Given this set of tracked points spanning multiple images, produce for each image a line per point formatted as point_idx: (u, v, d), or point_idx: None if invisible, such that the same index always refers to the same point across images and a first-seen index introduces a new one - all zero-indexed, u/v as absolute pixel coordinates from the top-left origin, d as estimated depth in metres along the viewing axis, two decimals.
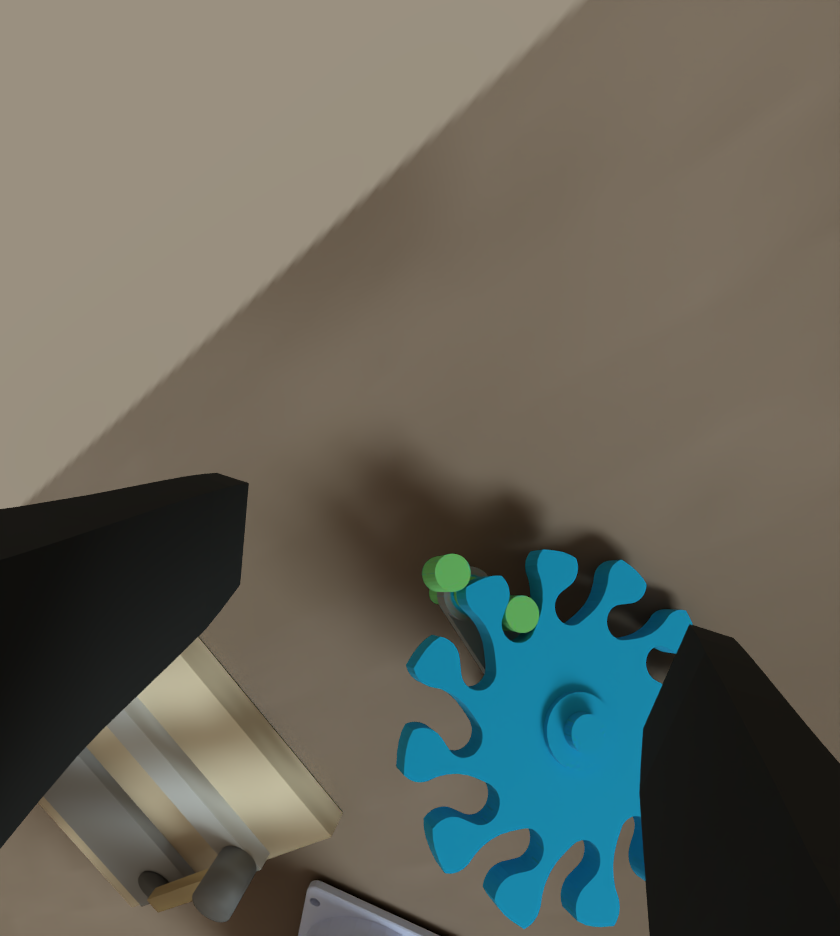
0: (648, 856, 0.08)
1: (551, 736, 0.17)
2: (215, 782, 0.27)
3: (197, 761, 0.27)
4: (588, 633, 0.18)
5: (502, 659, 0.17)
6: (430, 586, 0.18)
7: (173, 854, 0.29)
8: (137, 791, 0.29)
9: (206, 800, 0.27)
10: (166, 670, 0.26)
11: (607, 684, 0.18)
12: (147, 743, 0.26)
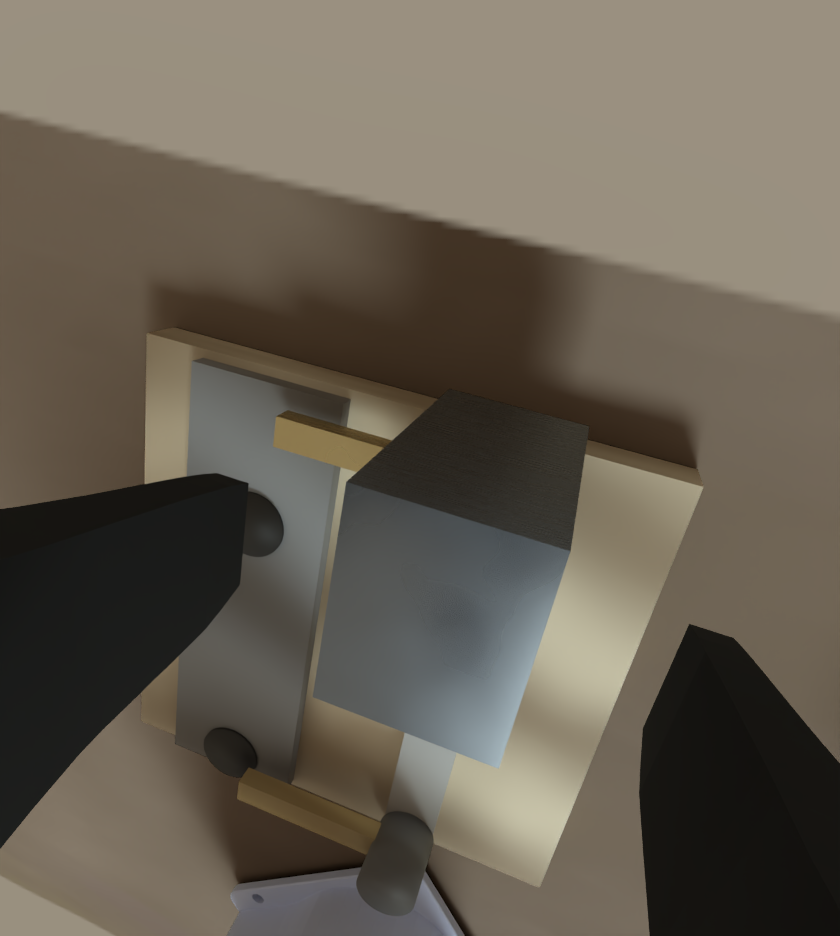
0: (648, 856, 0.08)
1: None
2: None
3: None
4: None
5: None
6: None
7: (296, 745, 0.21)
8: None
9: (451, 768, 0.19)
10: (590, 635, 0.16)
11: None
12: None
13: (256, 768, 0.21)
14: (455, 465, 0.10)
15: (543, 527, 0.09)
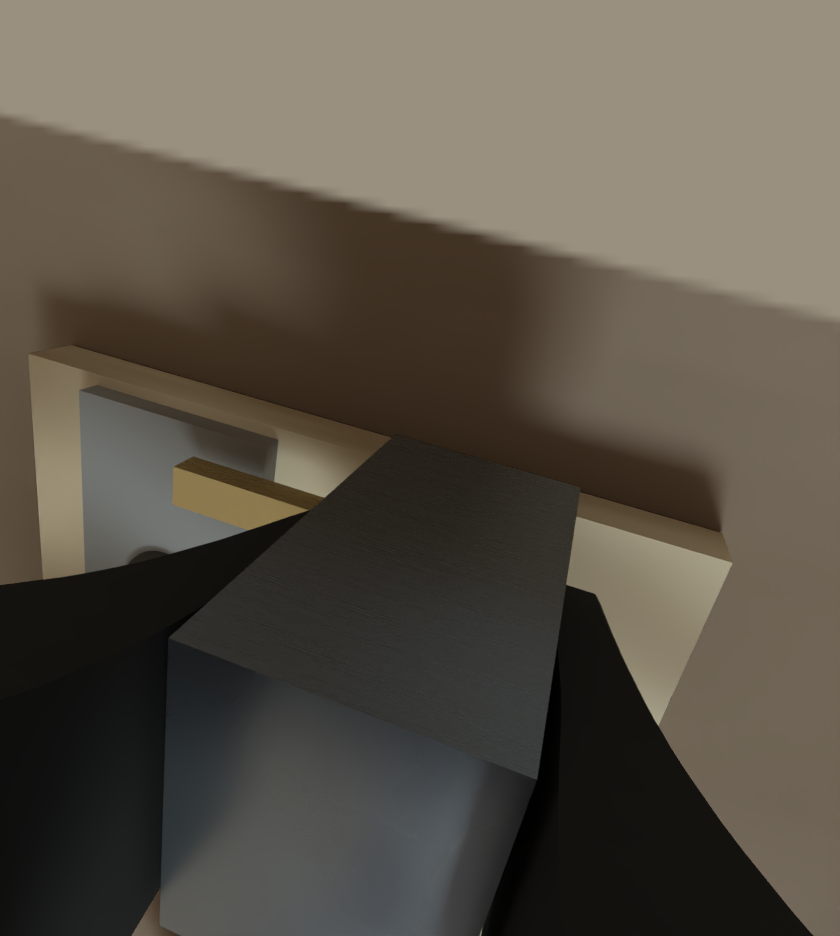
0: None
1: None
2: None
3: None
4: None
5: None
6: None
7: None
8: None
9: None
10: None
11: None
12: None
13: None
14: (370, 580, 0.07)
15: (494, 717, 0.05)
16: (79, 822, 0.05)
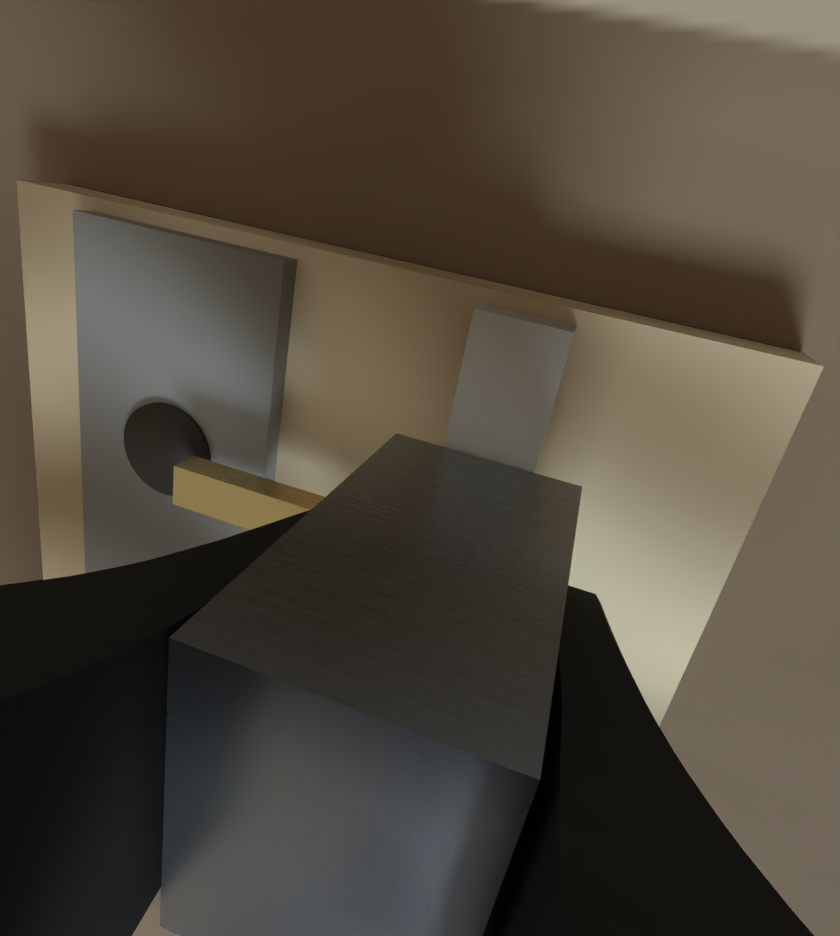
0: None
1: None
2: None
3: None
4: None
5: None
6: None
7: None
8: None
9: None
10: (640, 599, 0.12)
11: None
12: None
13: None
14: (372, 581, 0.07)
15: (497, 717, 0.05)
16: (79, 823, 0.05)
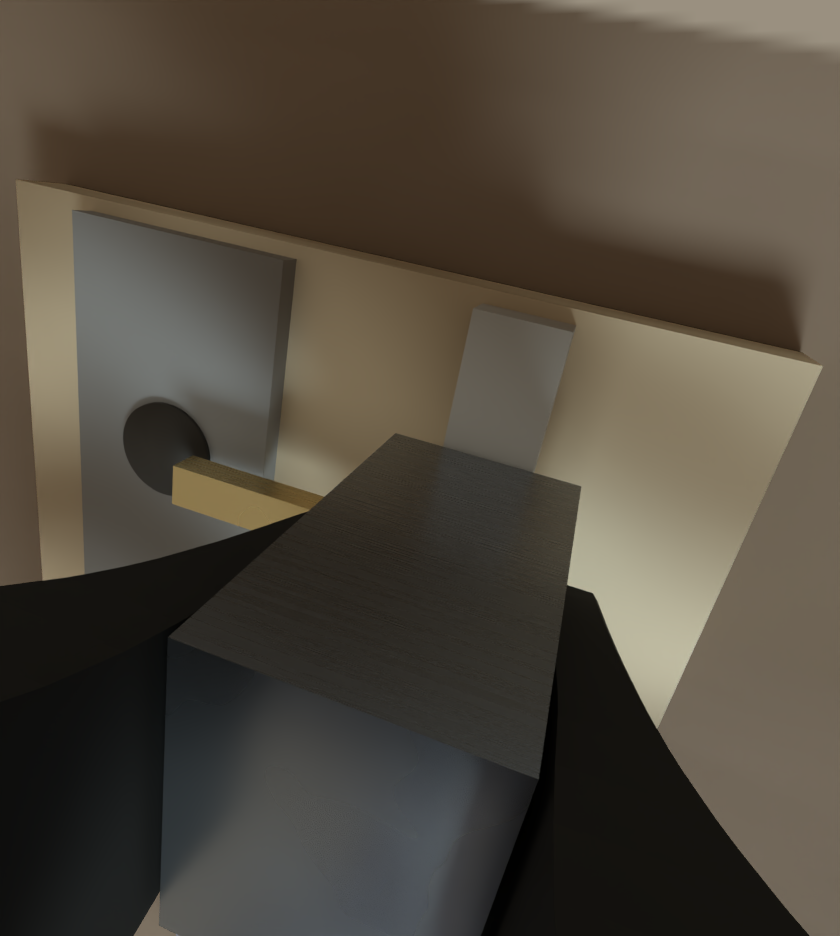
0: None
1: None
2: None
3: None
4: None
5: None
6: None
7: None
8: None
9: None
10: (639, 599, 0.12)
11: None
12: None
13: None
14: (370, 580, 0.07)
15: (496, 717, 0.05)
16: (81, 823, 0.05)
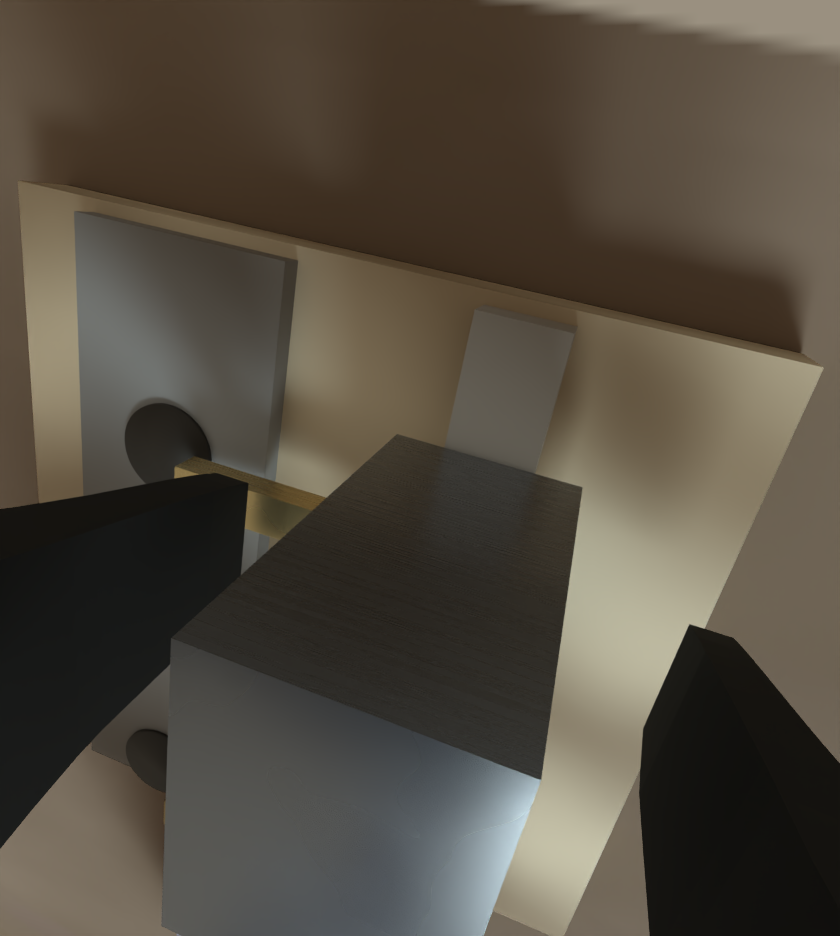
0: (648, 856, 0.08)
1: None
2: None
3: None
4: None
5: None
6: None
7: None
8: None
9: None
10: (640, 600, 0.12)
11: None
12: None
13: None
14: (373, 580, 0.07)
15: (498, 717, 0.05)
16: None
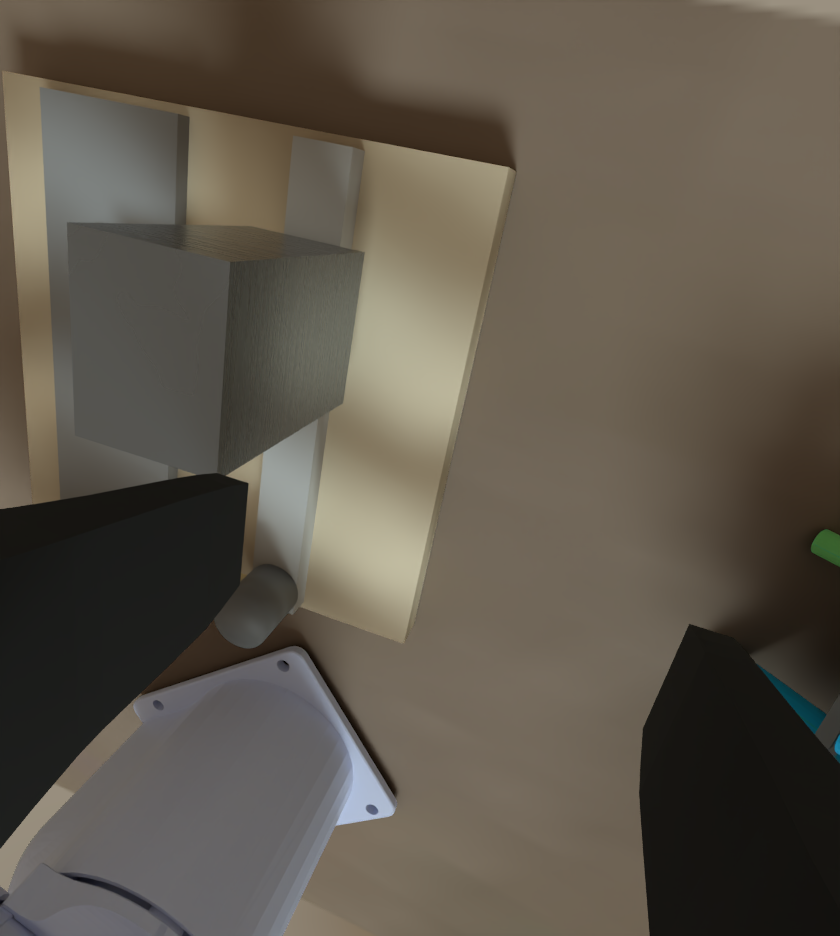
0: (648, 856, 0.08)
1: None
2: (326, 498, 0.20)
3: (331, 463, 0.19)
4: None
5: None
6: None
7: None
8: None
9: (307, 510, 0.19)
10: (423, 350, 0.17)
11: None
12: None
13: None
14: (188, 235, 0.12)
15: (224, 255, 0.11)
16: None
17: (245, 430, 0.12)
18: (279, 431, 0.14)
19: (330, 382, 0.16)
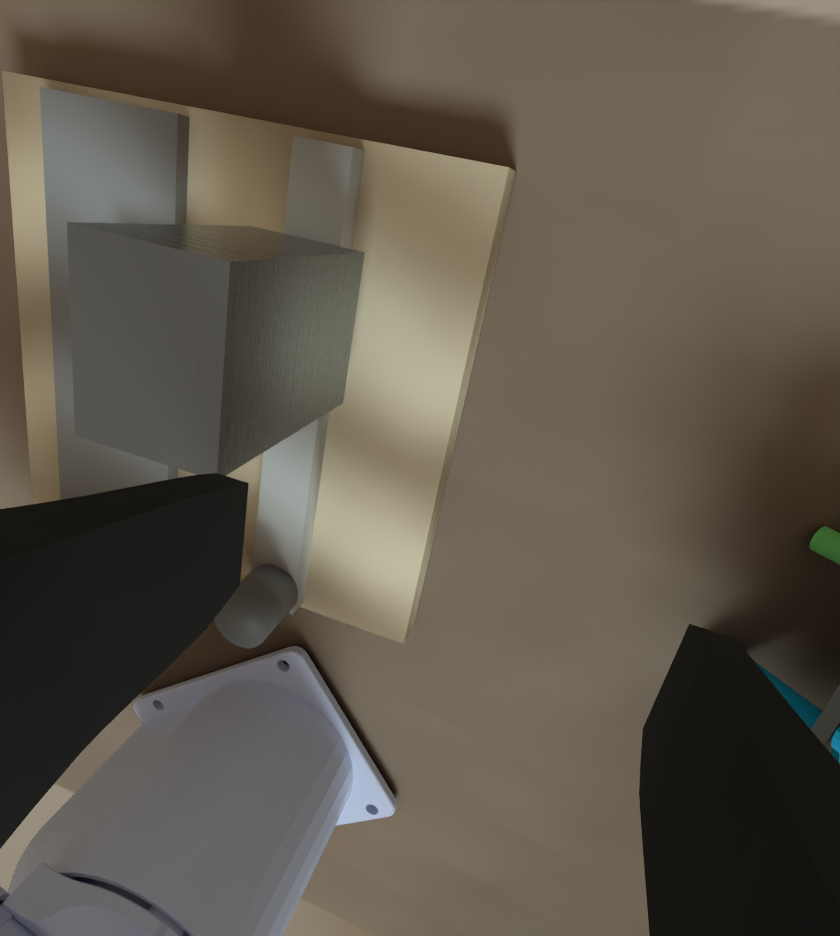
0: (648, 856, 0.08)
1: None
2: (326, 498, 0.20)
3: (331, 463, 0.19)
4: None
5: None
6: None
7: None
8: None
9: (307, 510, 0.19)
10: (423, 350, 0.17)
11: None
12: None
13: None
14: (188, 235, 0.12)
15: (224, 255, 0.11)
16: None
17: (245, 430, 0.12)
18: (279, 431, 0.14)
19: (330, 382, 0.16)
